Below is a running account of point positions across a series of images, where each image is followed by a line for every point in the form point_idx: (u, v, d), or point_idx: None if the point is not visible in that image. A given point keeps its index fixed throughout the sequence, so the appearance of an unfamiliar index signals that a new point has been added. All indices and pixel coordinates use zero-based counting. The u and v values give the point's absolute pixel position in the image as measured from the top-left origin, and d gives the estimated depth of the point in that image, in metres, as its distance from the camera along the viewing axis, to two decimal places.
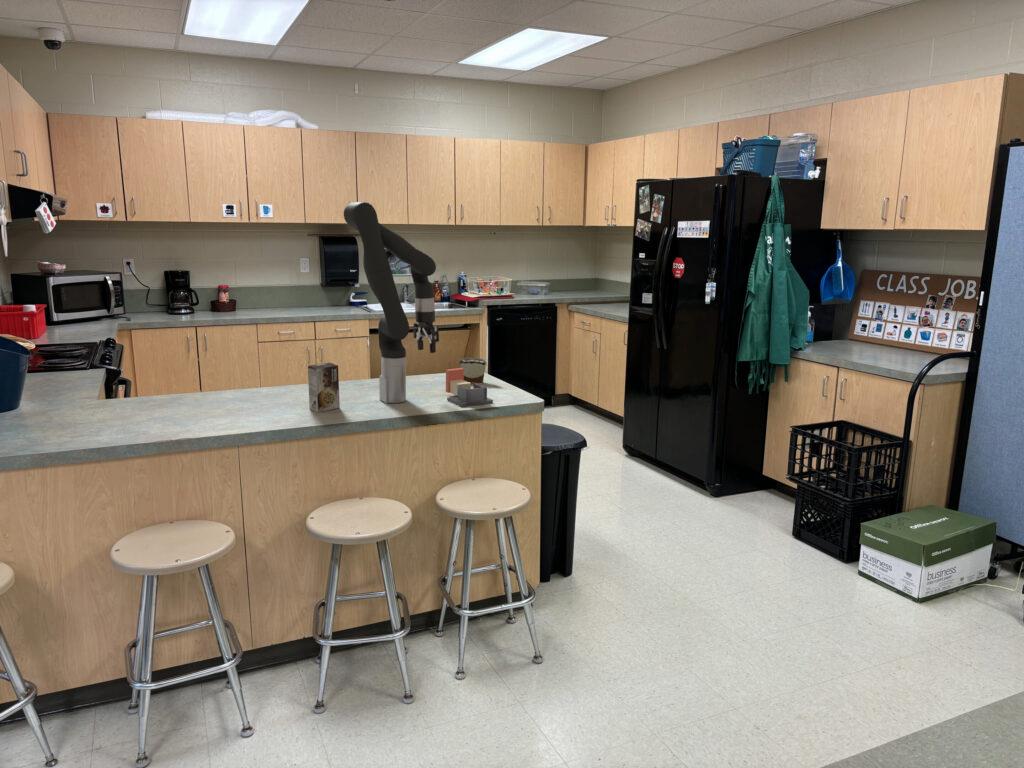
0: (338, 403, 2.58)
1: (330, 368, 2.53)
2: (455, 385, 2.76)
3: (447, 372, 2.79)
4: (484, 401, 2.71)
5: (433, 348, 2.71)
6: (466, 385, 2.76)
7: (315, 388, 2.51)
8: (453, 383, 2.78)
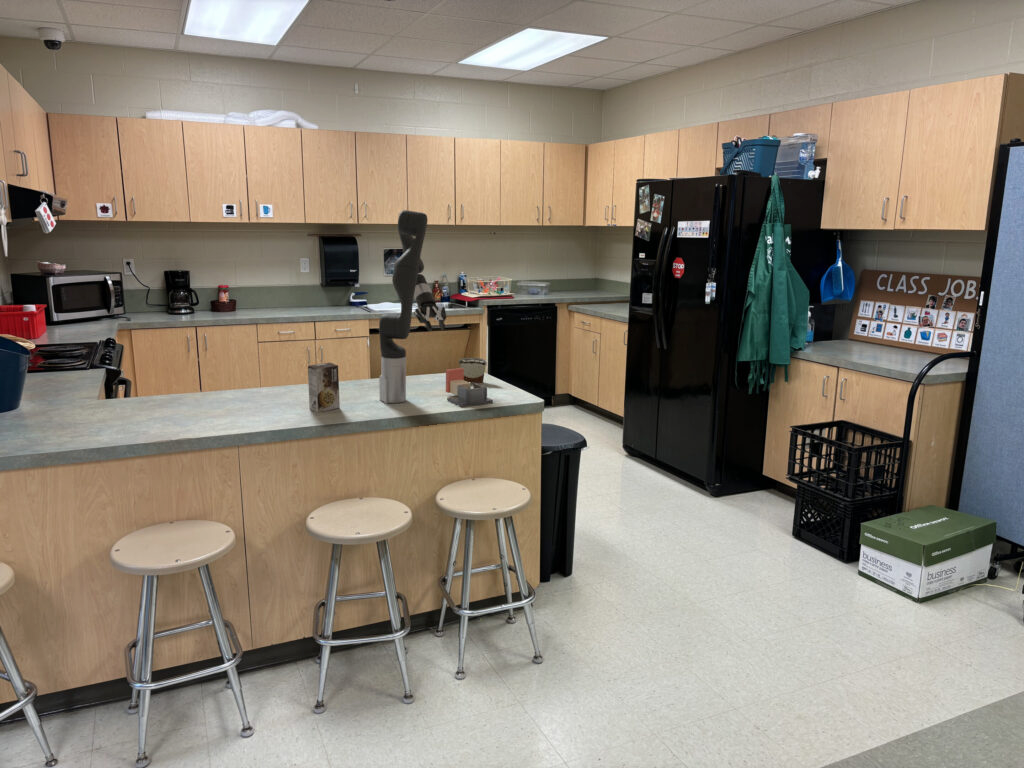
0: (338, 403, 2.58)
1: (330, 368, 2.53)
2: (455, 385, 2.76)
3: (447, 372, 2.79)
4: (484, 401, 2.71)
5: None
6: (466, 385, 2.76)
7: (315, 388, 2.51)
8: (453, 383, 2.78)
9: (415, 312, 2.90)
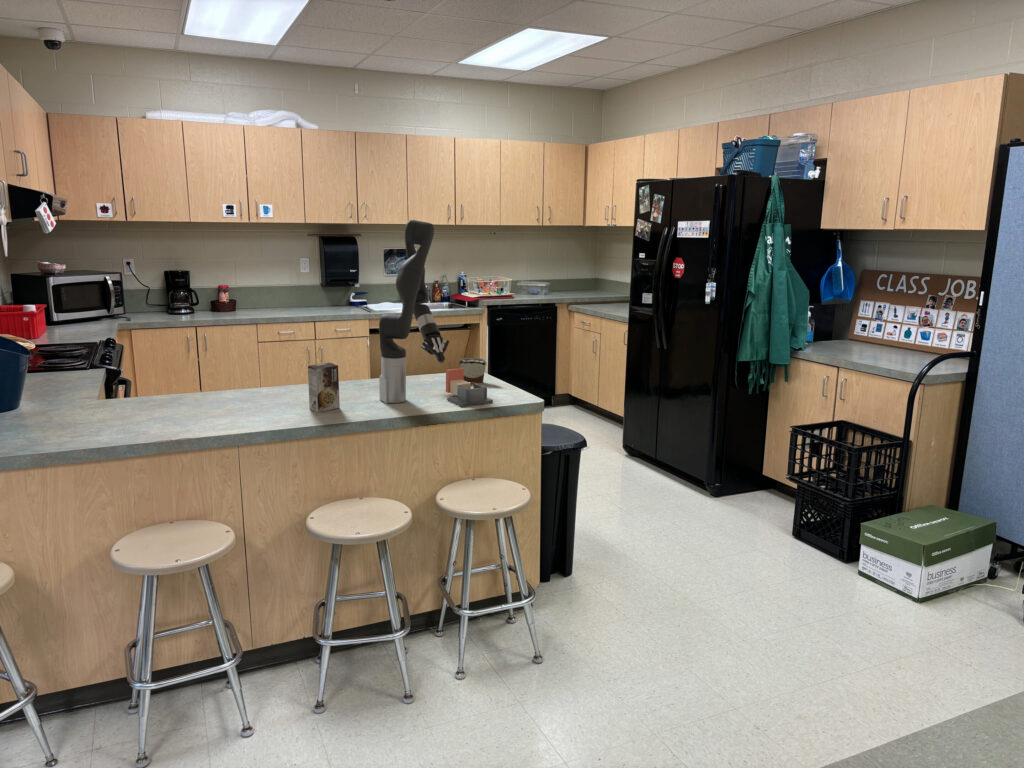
0: (338, 403, 2.58)
1: (330, 368, 2.53)
2: (455, 385, 2.76)
3: (447, 372, 2.79)
4: (484, 401, 2.71)
5: None
6: (466, 385, 2.76)
7: (315, 388, 2.51)
8: (453, 383, 2.78)
9: (423, 346, 2.89)
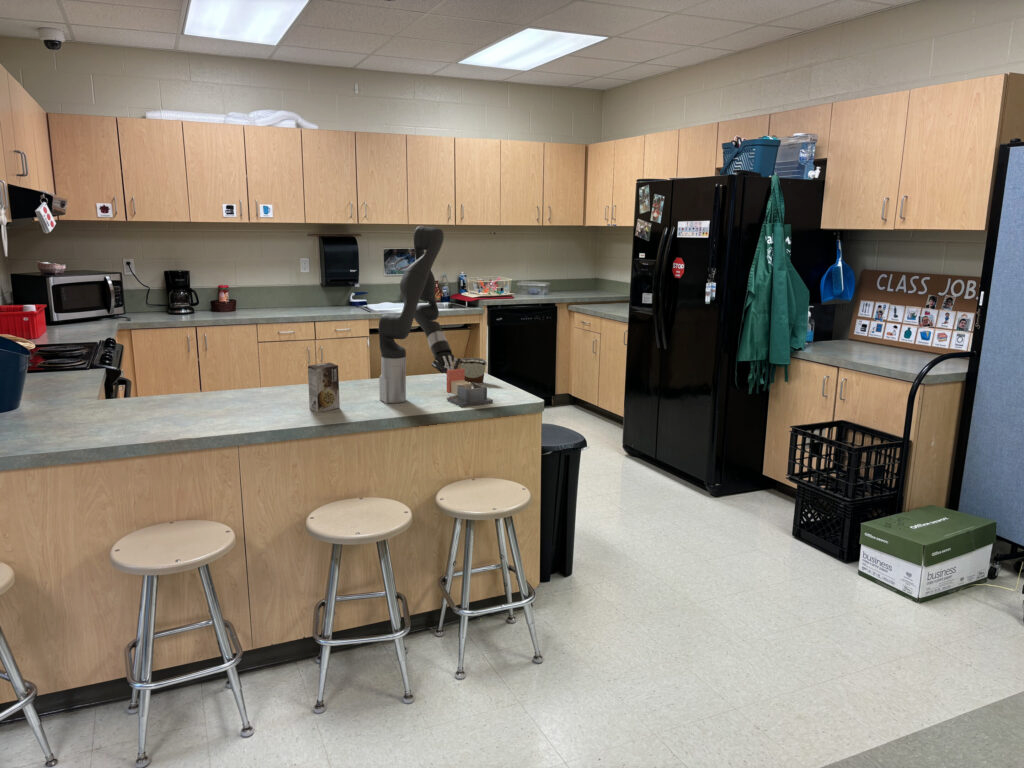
0: (338, 403, 2.58)
1: (330, 368, 2.53)
2: (456, 385, 2.76)
3: (447, 373, 2.79)
4: (484, 401, 2.71)
5: None
6: (467, 385, 2.75)
7: (315, 388, 2.51)
8: (454, 383, 2.77)
9: (434, 364, 2.82)
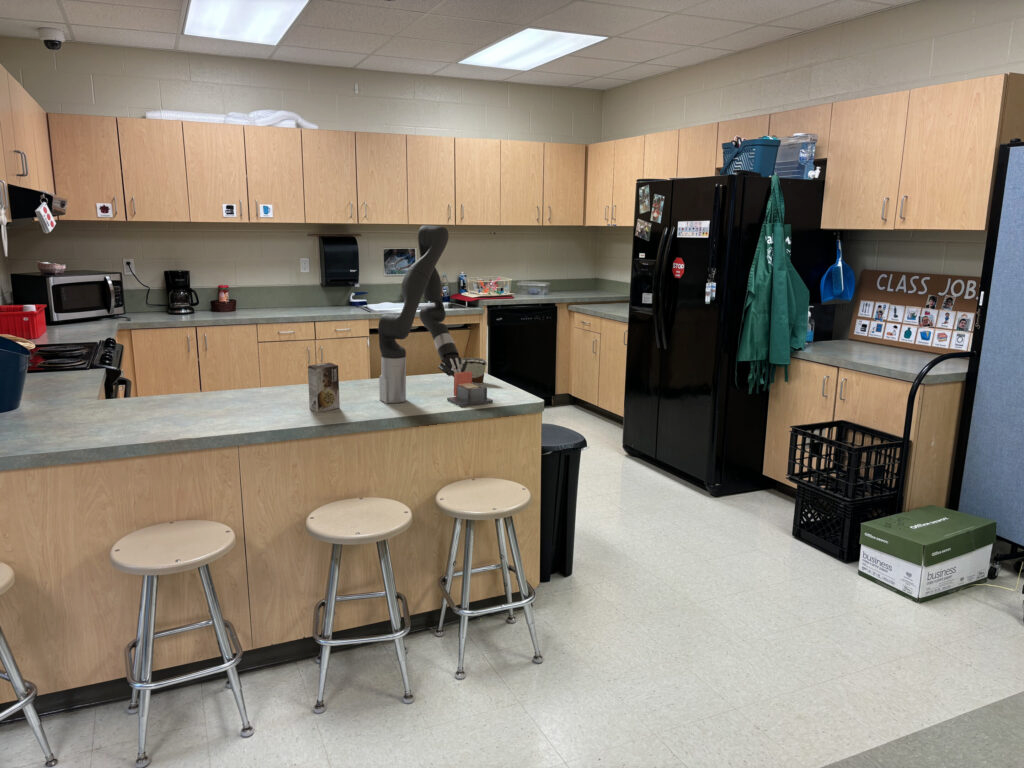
0: (338, 403, 2.58)
1: (330, 368, 2.53)
2: None
3: (455, 376, 2.74)
4: (484, 401, 2.71)
5: None
6: None
7: (315, 388, 2.51)
8: None
9: (441, 367, 2.78)
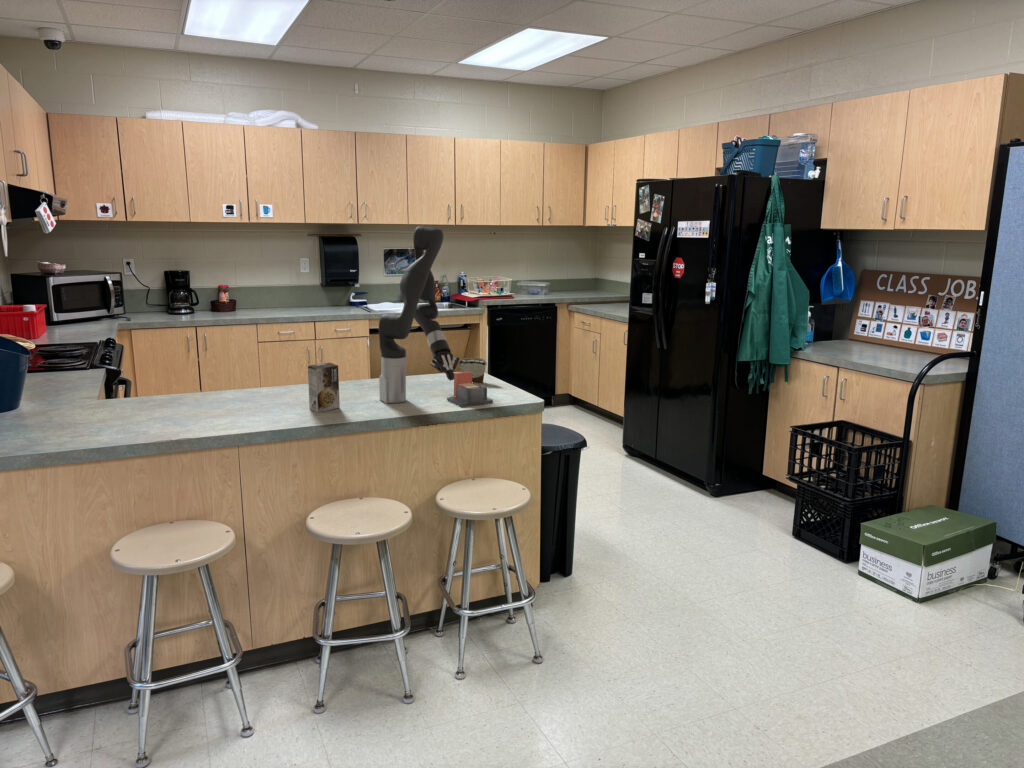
0: (338, 403, 2.58)
1: (330, 368, 2.53)
2: None
3: (455, 376, 2.74)
4: (484, 401, 2.71)
5: None
6: None
7: (315, 388, 2.51)
8: None
9: (432, 363, 2.84)
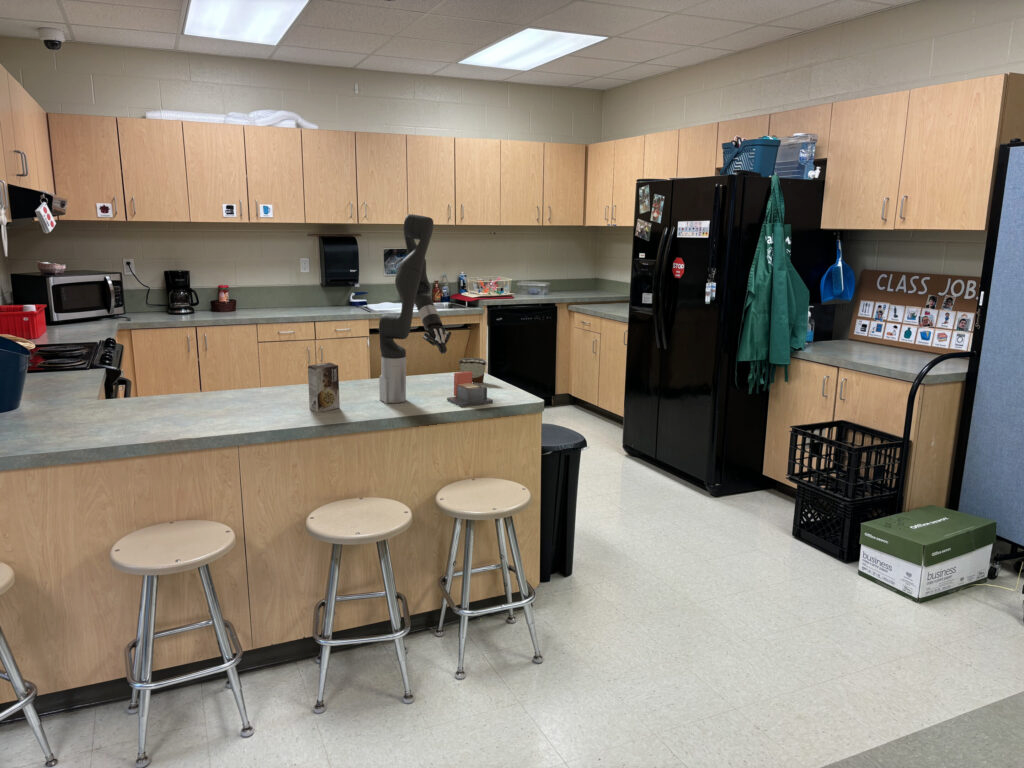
0: (338, 403, 2.58)
1: (330, 368, 2.53)
2: None
3: (455, 376, 2.74)
4: (484, 401, 2.71)
5: None
6: None
7: (315, 388, 2.51)
8: None
9: (425, 337, 2.87)
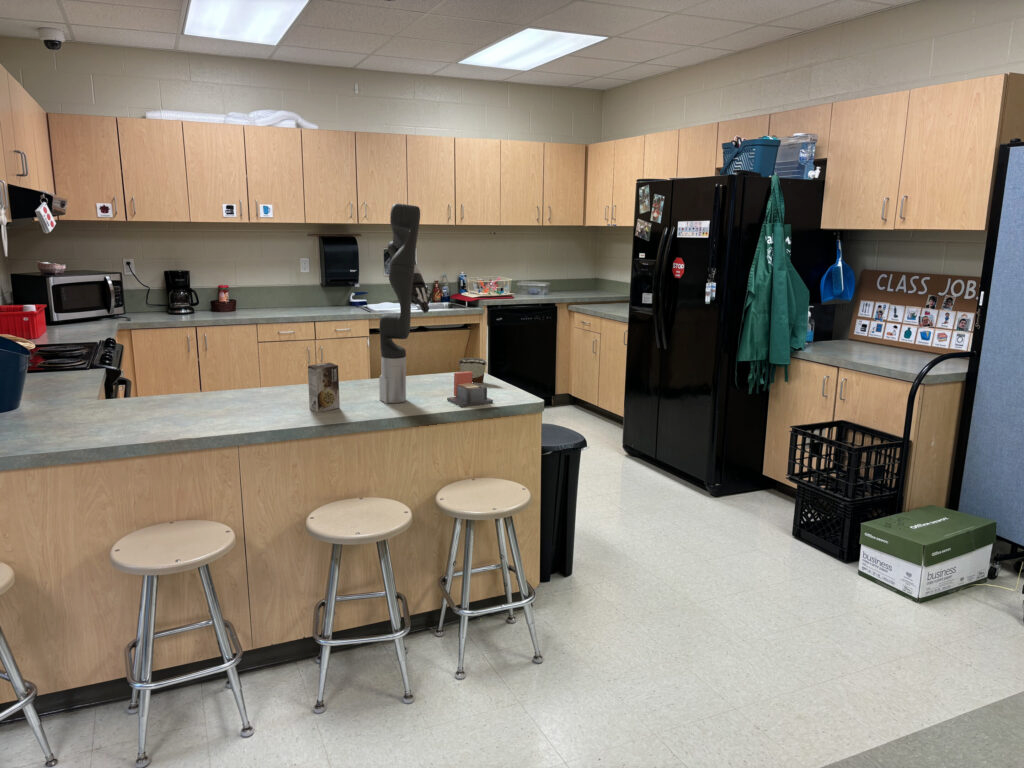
0: (338, 403, 2.58)
1: (330, 368, 2.53)
2: None
3: (455, 376, 2.74)
4: (484, 401, 2.71)
5: None
6: None
7: (315, 388, 2.51)
8: None
9: None
